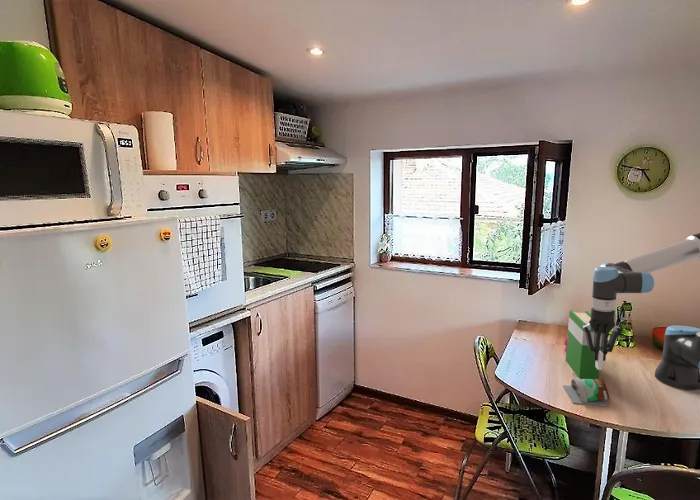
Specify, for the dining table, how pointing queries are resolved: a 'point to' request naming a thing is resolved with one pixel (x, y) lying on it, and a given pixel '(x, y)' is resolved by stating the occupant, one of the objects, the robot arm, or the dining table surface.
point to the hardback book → (580, 347)
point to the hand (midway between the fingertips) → (598, 368)
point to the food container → (590, 389)
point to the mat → (577, 400)
